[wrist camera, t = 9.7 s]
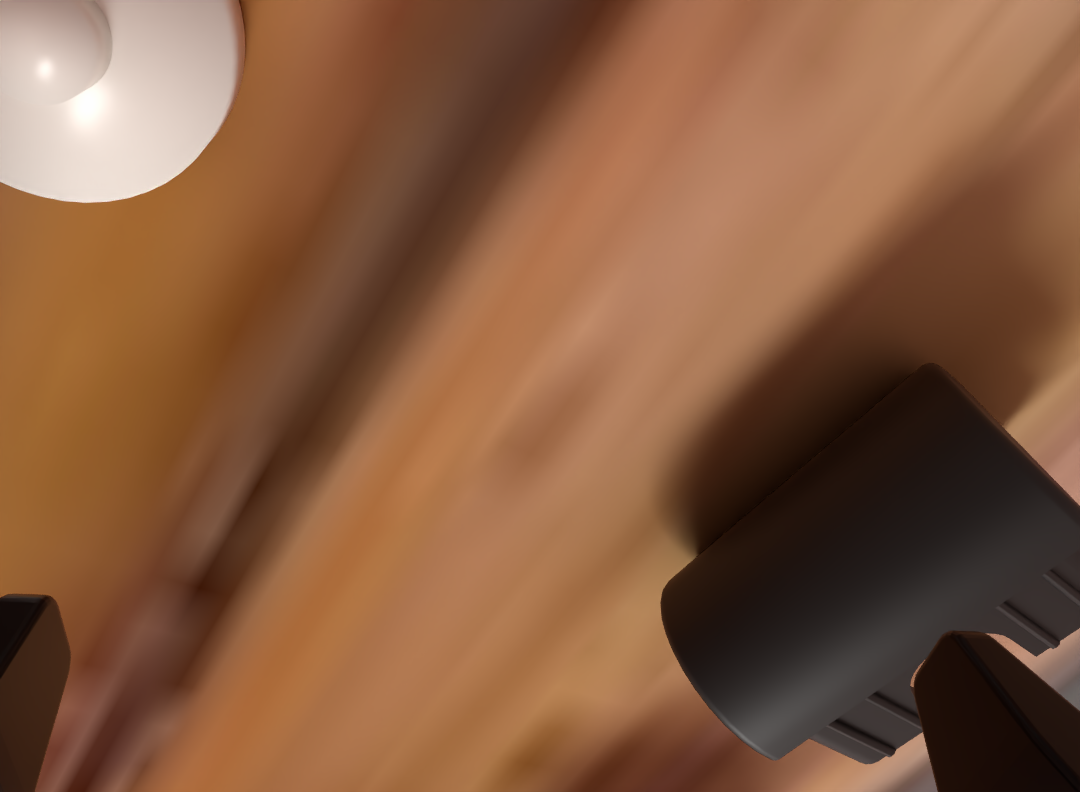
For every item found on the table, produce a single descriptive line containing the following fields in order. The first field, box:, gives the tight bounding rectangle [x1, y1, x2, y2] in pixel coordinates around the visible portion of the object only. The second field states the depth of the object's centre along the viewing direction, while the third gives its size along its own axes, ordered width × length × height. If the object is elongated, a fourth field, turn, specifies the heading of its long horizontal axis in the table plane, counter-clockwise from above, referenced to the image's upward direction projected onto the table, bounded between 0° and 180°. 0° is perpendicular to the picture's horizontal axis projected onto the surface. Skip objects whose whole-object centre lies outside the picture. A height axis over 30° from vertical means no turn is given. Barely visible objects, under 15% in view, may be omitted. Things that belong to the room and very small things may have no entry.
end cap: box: [661, 363, 1080, 764], centre depth 24 cm, size 10×7×7 cm
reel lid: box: [0, 0, 245, 203], centre depth 15 cm, size 6×6×2 cm
